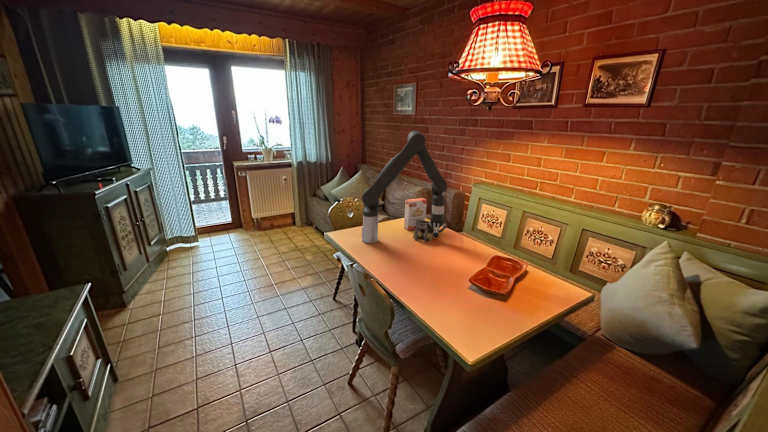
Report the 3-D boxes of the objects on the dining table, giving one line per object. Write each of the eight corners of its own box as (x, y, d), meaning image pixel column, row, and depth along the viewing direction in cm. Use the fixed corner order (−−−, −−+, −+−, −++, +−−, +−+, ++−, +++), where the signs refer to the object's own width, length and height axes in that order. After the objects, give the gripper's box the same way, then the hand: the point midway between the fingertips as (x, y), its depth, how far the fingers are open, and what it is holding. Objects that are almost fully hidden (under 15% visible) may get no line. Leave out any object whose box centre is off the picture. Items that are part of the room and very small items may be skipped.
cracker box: (407, 231, 203) (409, 201, 196) (403, 228, 208) (404, 199, 201) (425, 228, 209) (427, 199, 202) (420, 225, 214) (422, 197, 207)
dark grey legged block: (411, 239, 189) (412, 225, 185) (416, 233, 199) (416, 219, 196) (429, 242, 185) (431, 227, 182) (433, 236, 195) (434, 221, 192)
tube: (413, 238, 192) (413, 231, 190) (415, 235, 196) (415, 229, 194) (431, 241, 187) (431, 234, 186) (433, 238, 191) (433, 232, 190)
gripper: (425, 212, 181) (424, 238, 187) (447, 215, 177) (445, 241, 182) (428, 209, 188) (427, 234, 193) (449, 211, 183) (447, 237, 189)
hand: (436, 237), depth 188 cm, fingers closed
